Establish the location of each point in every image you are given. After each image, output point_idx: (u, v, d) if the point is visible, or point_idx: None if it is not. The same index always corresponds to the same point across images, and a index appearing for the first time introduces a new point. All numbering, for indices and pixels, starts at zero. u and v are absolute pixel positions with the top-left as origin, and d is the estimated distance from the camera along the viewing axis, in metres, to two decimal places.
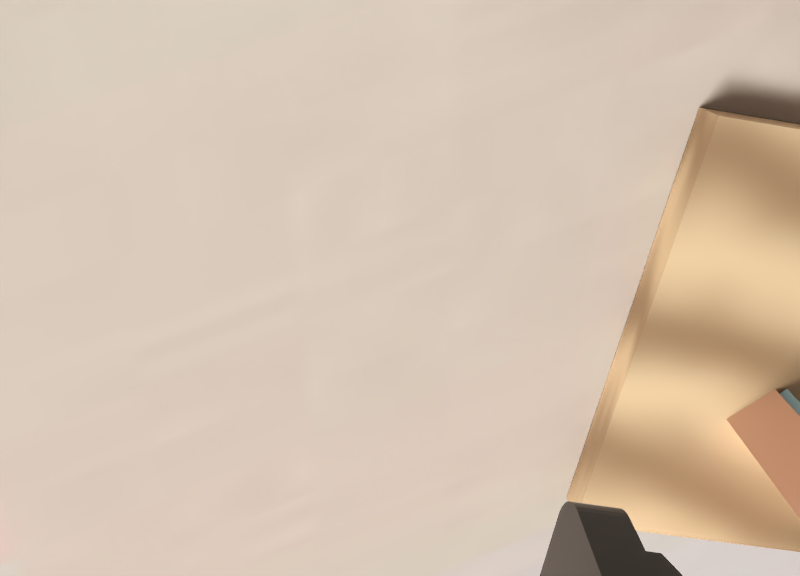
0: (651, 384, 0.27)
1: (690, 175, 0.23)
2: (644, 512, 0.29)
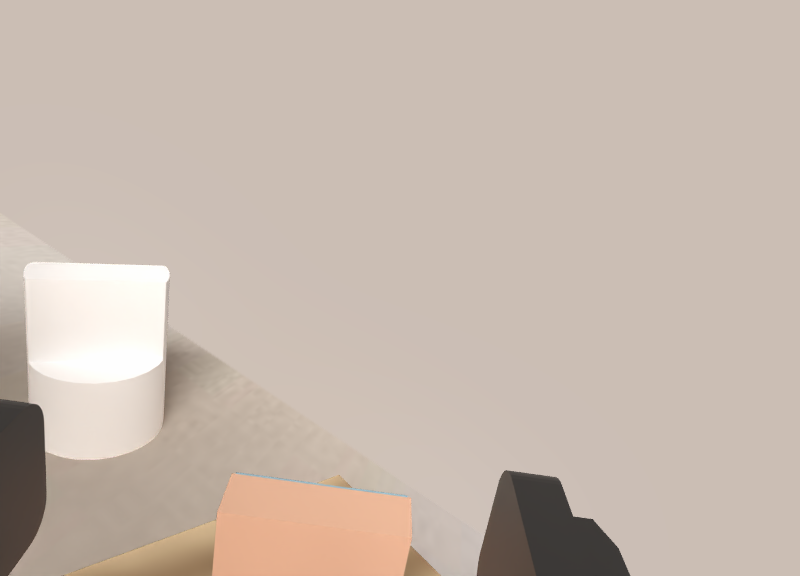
0: None
1: None
2: None
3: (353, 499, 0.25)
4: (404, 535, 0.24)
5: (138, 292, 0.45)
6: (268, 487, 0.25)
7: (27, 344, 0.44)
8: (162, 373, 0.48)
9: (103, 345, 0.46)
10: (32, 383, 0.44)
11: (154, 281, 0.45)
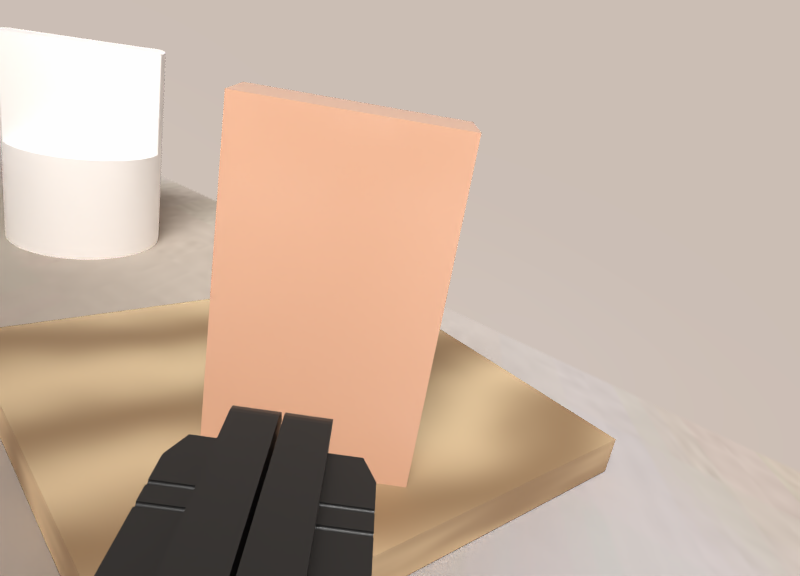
0: (75, 471, 0.21)
1: None
2: None
3: (400, 111, 0.20)
4: (471, 131, 0.18)
5: (128, 64, 0.39)
6: (290, 92, 0.19)
7: (0, 118, 0.38)
8: (157, 172, 0.42)
9: (89, 128, 0.40)
10: (6, 165, 0.38)
11: (147, 52, 0.39)
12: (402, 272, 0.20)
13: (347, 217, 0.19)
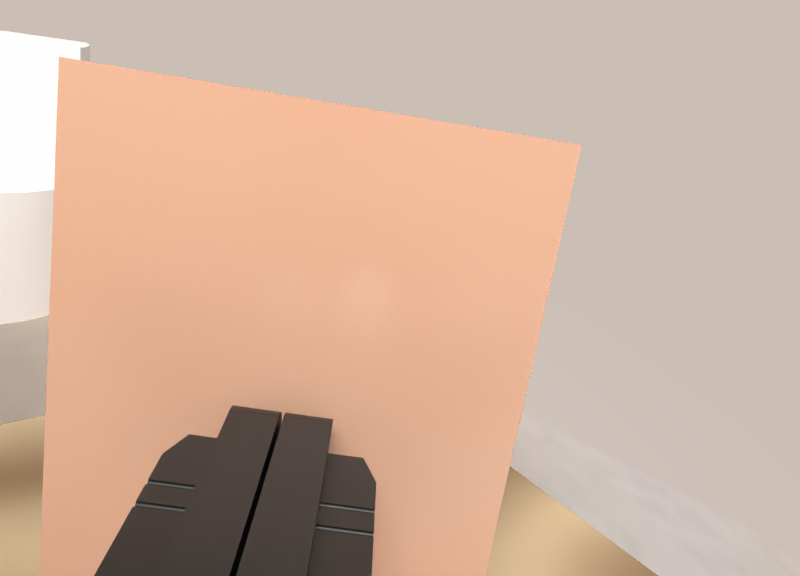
0: None
1: None
2: None
3: None
4: (560, 142, 0.09)
5: (34, 60, 0.29)
6: None
7: None
8: None
9: None
10: None
11: (60, 44, 0.29)
12: (422, 422, 0.10)
13: (312, 316, 0.10)
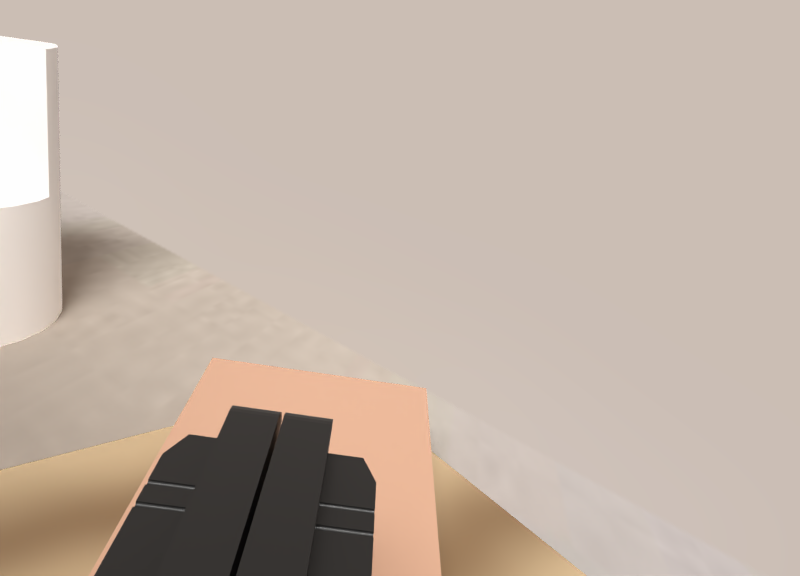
0: None
1: None
2: None
3: None
4: None
5: None
6: None
7: None
8: (50, 222, 0.29)
9: None
10: None
11: (23, 45, 0.26)
12: (378, 462, 0.18)
13: None
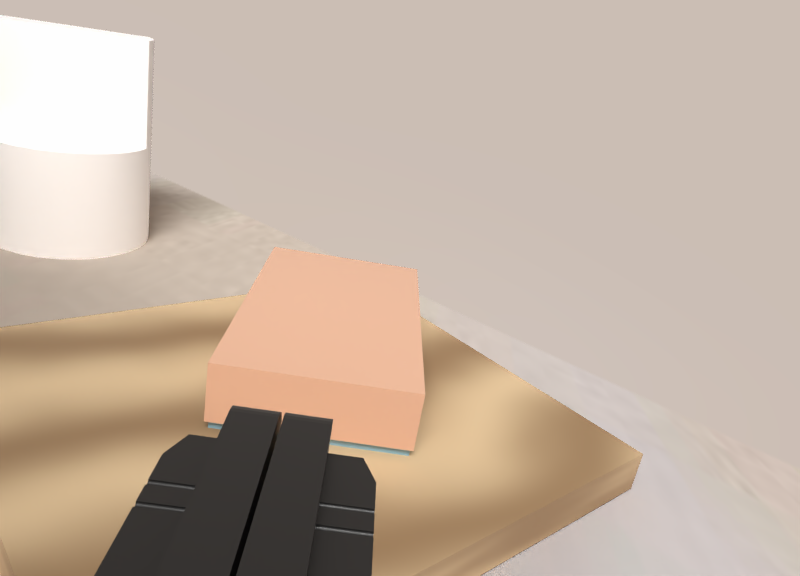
0: (36, 495, 0.18)
1: None
2: None
3: None
4: (411, 270, 0.33)
5: (114, 51, 0.37)
6: None
7: None
8: (145, 167, 0.40)
9: (72, 120, 0.37)
10: None
11: (134, 38, 0.37)
12: (385, 298, 0.29)
13: (345, 280, 0.30)
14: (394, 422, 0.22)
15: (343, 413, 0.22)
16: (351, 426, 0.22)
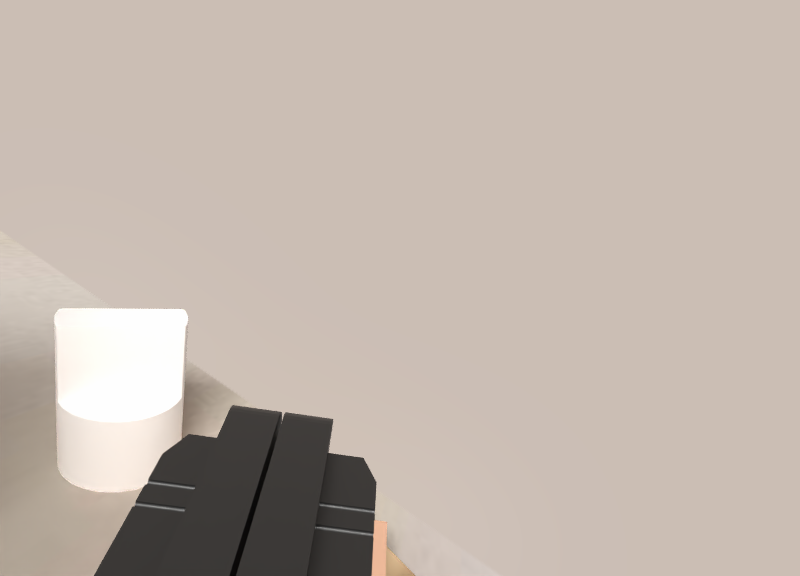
0: None
1: None
2: None
3: None
4: (382, 522, 0.44)
5: (159, 336, 0.48)
6: None
7: (57, 385, 0.47)
8: (181, 409, 0.51)
9: (126, 385, 0.49)
10: (61, 421, 0.48)
11: (174, 325, 0.48)
12: None
13: None
14: None
15: None
16: None
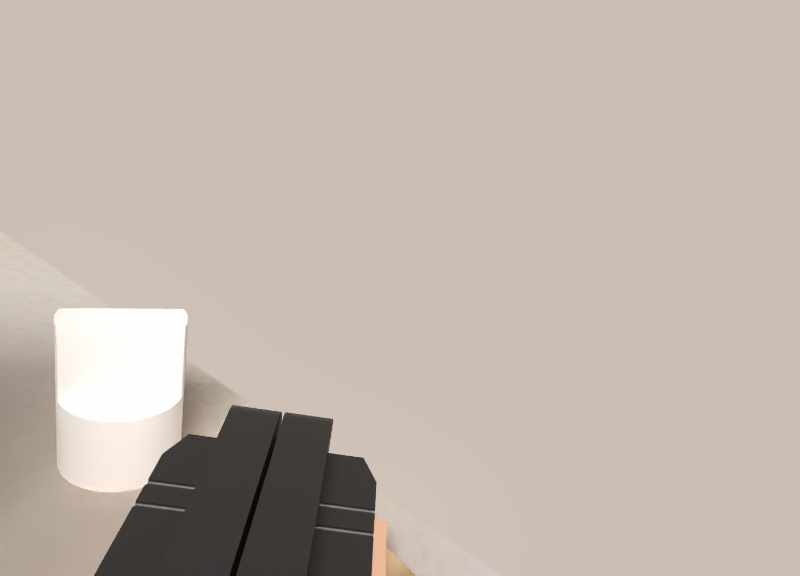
0: None
1: None
2: None
3: None
4: (382, 522, 0.44)
5: (159, 336, 0.48)
6: None
7: (56, 385, 0.47)
8: (180, 409, 0.51)
9: (126, 385, 0.49)
10: (61, 421, 0.48)
11: (174, 325, 0.48)
12: None
13: None
14: None
15: None
16: None
